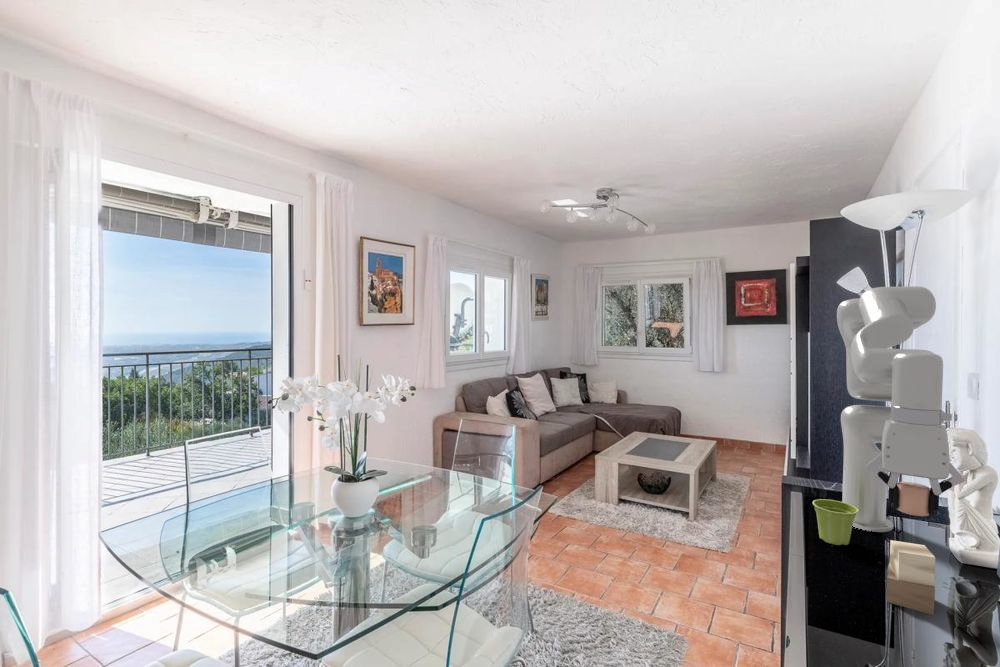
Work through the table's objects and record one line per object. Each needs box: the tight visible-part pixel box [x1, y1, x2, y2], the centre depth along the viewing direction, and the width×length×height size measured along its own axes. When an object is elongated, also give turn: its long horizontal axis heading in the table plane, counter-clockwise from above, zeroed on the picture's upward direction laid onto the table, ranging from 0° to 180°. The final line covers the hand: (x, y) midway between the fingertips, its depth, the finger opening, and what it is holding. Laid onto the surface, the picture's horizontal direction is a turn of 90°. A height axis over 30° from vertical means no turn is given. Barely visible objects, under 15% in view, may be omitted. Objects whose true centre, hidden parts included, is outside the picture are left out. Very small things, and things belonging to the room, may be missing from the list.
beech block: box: [889, 539, 936, 586], centre depth 99 cm, size 6×6×6 cm
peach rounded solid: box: [896, 481, 931, 517], centre depth 98 cm, size 5×5×5 cm
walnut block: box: [886, 563, 936, 616], centre depth 99 cm, size 7×7×5 cm
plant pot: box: [812, 498, 858, 546], centre depth 125 cm, size 9×9×9 cm
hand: (912, 509), depth 98 cm, fingers closed on peach rounded solid, 4 cm apart
